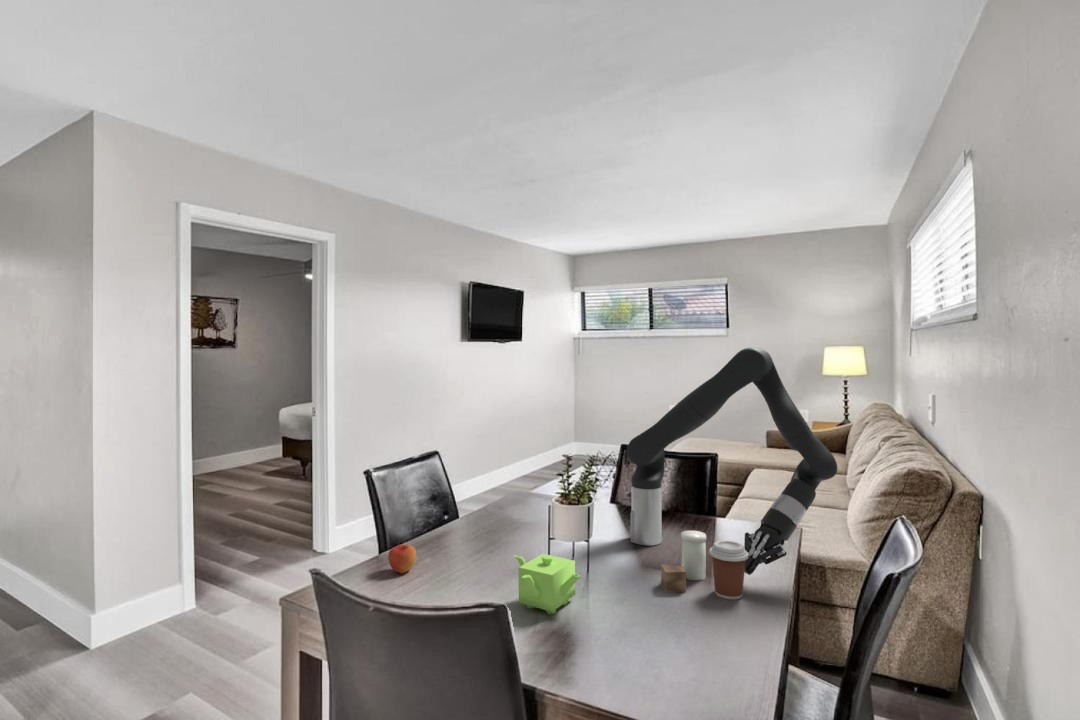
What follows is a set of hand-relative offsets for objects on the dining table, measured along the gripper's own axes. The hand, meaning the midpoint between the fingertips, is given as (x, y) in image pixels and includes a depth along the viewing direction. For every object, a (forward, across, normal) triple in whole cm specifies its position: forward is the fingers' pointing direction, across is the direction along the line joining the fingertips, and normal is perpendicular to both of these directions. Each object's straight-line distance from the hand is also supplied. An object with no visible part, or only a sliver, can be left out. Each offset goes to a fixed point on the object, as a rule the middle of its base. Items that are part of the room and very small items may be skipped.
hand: (745, 572), depth 140 cm
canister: (+8, -12, -1) cm, 15 cm away
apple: (+58, -44, -52) cm, 89 cm away
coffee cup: (+7, 0, 0) cm, 7 cm away
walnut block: (+14, -8, -8) cm, 18 cm away
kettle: (+38, -11, -32) cm, 50 cm away
